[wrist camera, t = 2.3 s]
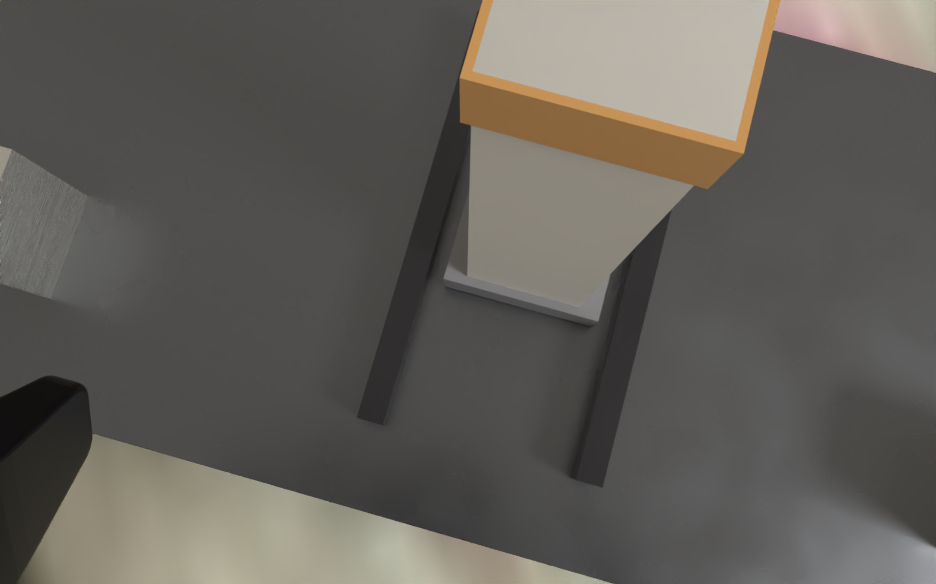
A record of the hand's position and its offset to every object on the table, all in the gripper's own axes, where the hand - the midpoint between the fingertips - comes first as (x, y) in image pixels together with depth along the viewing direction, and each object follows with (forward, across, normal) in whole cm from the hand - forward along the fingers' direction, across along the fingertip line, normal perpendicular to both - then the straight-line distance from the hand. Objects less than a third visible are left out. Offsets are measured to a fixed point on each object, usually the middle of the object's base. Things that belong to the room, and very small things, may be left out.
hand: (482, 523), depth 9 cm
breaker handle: (+11, 0, +4) cm, 12 cm away
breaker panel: (+12, 0, +5) cm, 13 cm away
